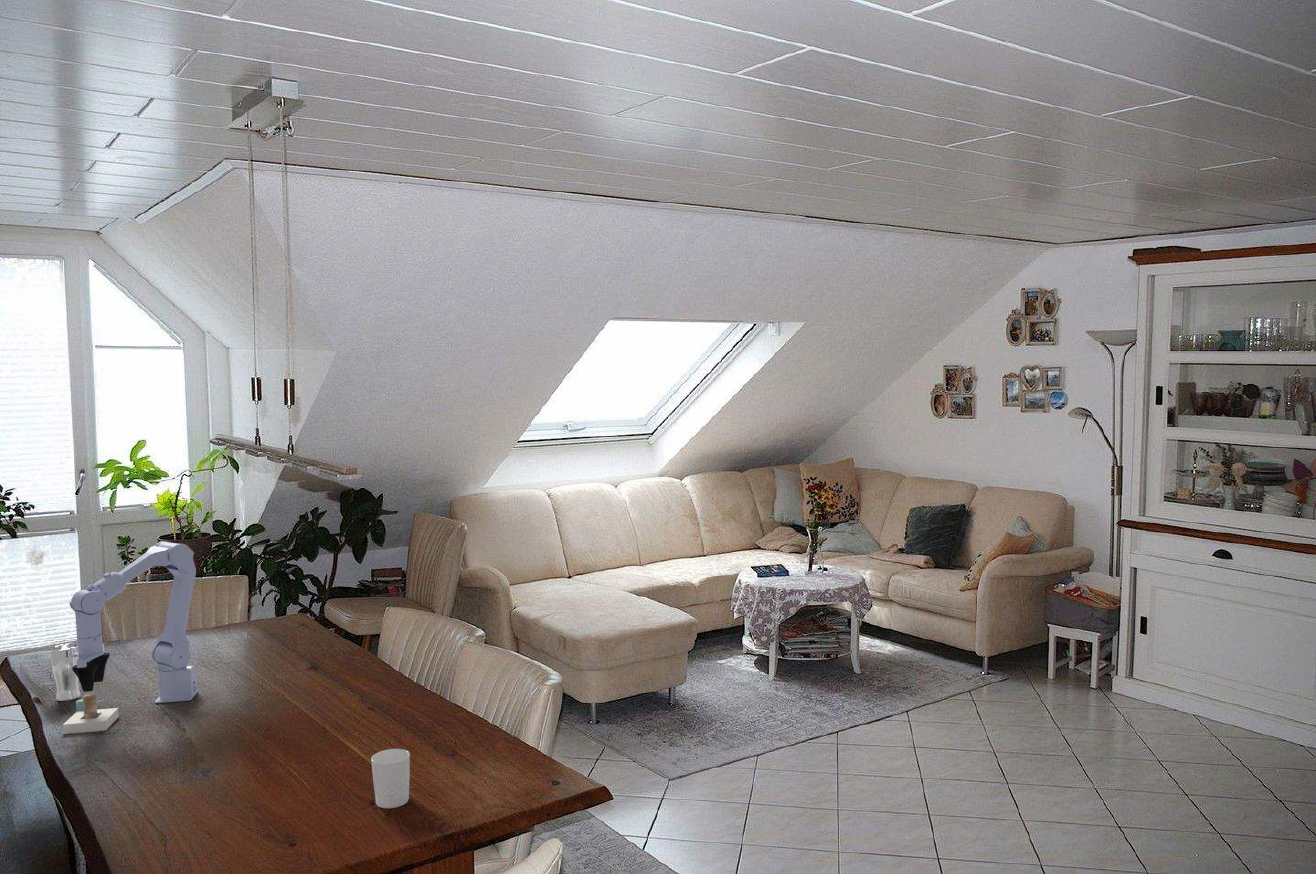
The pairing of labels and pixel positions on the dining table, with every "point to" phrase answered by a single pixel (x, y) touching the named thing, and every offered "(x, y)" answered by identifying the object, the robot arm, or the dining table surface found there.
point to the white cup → (391, 777)
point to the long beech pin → (90, 706)
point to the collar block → (91, 721)
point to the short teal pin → (79, 705)
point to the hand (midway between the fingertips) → (93, 686)
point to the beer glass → (65, 671)
